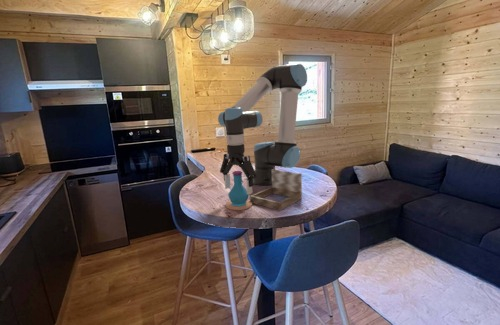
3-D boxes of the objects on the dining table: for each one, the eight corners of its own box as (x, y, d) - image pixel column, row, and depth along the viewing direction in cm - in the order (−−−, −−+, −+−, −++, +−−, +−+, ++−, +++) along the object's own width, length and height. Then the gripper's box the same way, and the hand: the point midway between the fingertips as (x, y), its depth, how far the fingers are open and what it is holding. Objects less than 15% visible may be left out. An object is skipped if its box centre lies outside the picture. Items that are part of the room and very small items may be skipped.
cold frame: (250, 202, 126) (249, 177, 124) (273, 191, 140) (273, 169, 137) (280, 210, 115) (279, 183, 113) (302, 197, 129) (302, 173, 126)
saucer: (220, 206, 122) (220, 204, 122) (238, 198, 131) (238, 197, 131) (239, 212, 115) (239, 210, 114) (257, 204, 123) (257, 202, 123)
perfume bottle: (228, 200, 127) (226, 169, 124) (248, 199, 127) (246, 168, 124) (228, 208, 118) (226, 175, 115) (249, 206, 119) (248, 173, 115)
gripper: (210, 143, 122) (213, 188, 127) (251, 147, 106) (254, 198, 111) (222, 141, 128) (225, 184, 132) (263, 144, 111) (265, 193, 116)
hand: (238, 190), depth 121 cm, fingers open, 13 cm apart
